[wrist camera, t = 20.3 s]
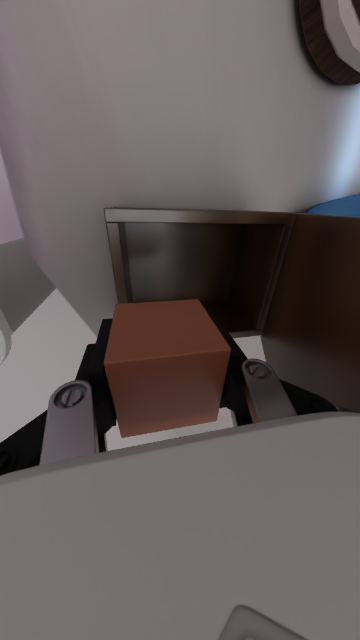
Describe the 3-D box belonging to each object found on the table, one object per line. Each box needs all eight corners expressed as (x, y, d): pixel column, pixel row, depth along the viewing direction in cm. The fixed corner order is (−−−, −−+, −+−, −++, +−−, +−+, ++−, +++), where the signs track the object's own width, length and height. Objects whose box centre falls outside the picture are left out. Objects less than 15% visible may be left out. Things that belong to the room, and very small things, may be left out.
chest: (127, 310, 28) (125, 349, 20) (114, 207, 21) (103, 208, 14) (230, 303, 30) (261, 335, 23) (246, 210, 24) (297, 212, 16)
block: (125, 367, 12) (121, 438, 8) (115, 303, 10) (102, 363, 6) (193, 359, 13) (217, 421, 9) (198, 298, 11) (232, 349, 7)
